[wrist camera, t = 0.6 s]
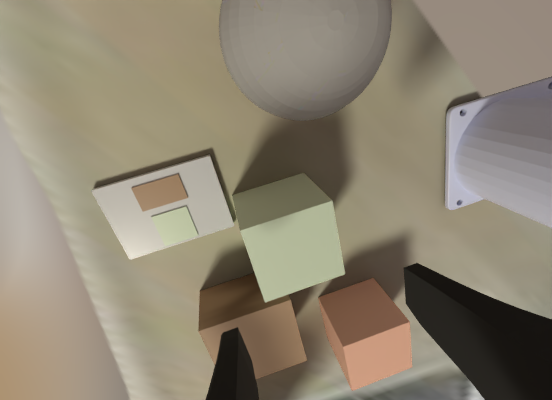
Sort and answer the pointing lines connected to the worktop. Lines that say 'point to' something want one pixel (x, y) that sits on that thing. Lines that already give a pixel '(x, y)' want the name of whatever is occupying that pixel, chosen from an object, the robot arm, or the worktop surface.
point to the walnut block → (251, 324)
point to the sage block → (289, 235)
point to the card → (165, 206)
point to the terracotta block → (366, 333)
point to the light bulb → (303, 52)
